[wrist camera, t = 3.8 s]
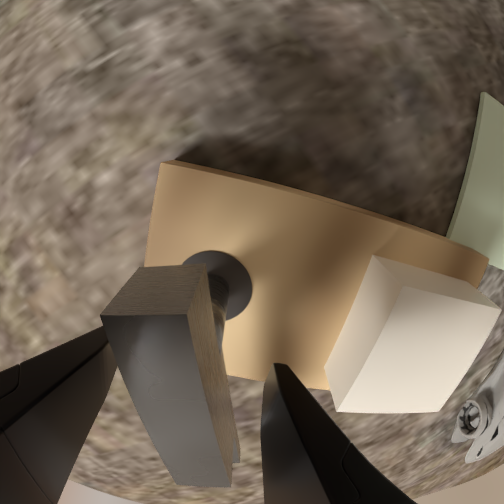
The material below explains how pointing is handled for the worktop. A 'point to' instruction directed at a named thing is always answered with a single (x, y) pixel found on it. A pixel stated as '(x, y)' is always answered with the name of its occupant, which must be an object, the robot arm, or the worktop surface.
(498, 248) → the pad
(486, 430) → the car model
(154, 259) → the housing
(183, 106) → the worktop surface
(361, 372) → the cover
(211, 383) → the lever handle
